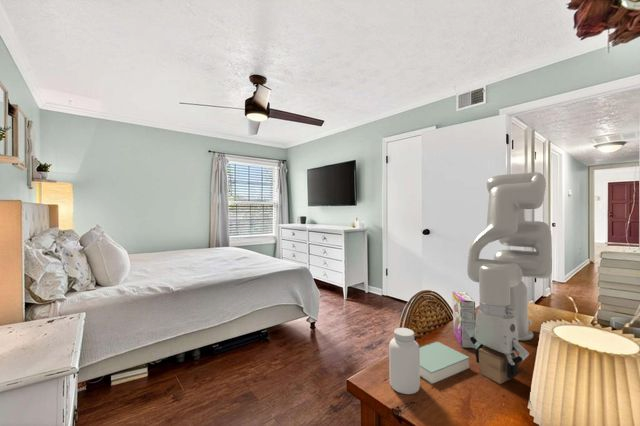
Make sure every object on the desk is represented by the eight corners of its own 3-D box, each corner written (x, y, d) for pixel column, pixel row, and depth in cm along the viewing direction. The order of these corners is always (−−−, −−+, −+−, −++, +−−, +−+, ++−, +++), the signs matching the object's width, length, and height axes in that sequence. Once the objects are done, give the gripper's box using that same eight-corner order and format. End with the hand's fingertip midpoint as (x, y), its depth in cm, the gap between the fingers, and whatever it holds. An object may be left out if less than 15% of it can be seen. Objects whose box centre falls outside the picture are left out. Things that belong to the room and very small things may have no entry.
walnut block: (491, 367, 86) (491, 344, 86) (513, 377, 80) (512, 353, 80) (478, 373, 83) (478, 349, 83) (500, 384, 77) (499, 358, 77)
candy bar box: (452, 333, 109) (451, 291, 108) (466, 334, 108) (466, 291, 107) (460, 348, 98) (460, 300, 97) (476, 349, 97) (476, 301, 96)
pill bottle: (416, 399, 72) (415, 340, 72) (385, 389, 76) (384, 333, 76) (423, 382, 79) (422, 328, 79) (394, 374, 83) (393, 323, 83)
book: (400, 364, 89) (400, 353, 89) (436, 351, 96) (436, 341, 96) (431, 385, 78) (431, 372, 78) (469, 368, 86) (469, 357, 85)
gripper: (536, 315, 75) (537, 381, 75) (474, 298, 91) (475, 352, 91) (520, 321, 72) (521, 389, 72) (458, 302, 87) (459, 358, 88)
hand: (495, 368), depth 81 cm, fingers open, 8 cm apart
